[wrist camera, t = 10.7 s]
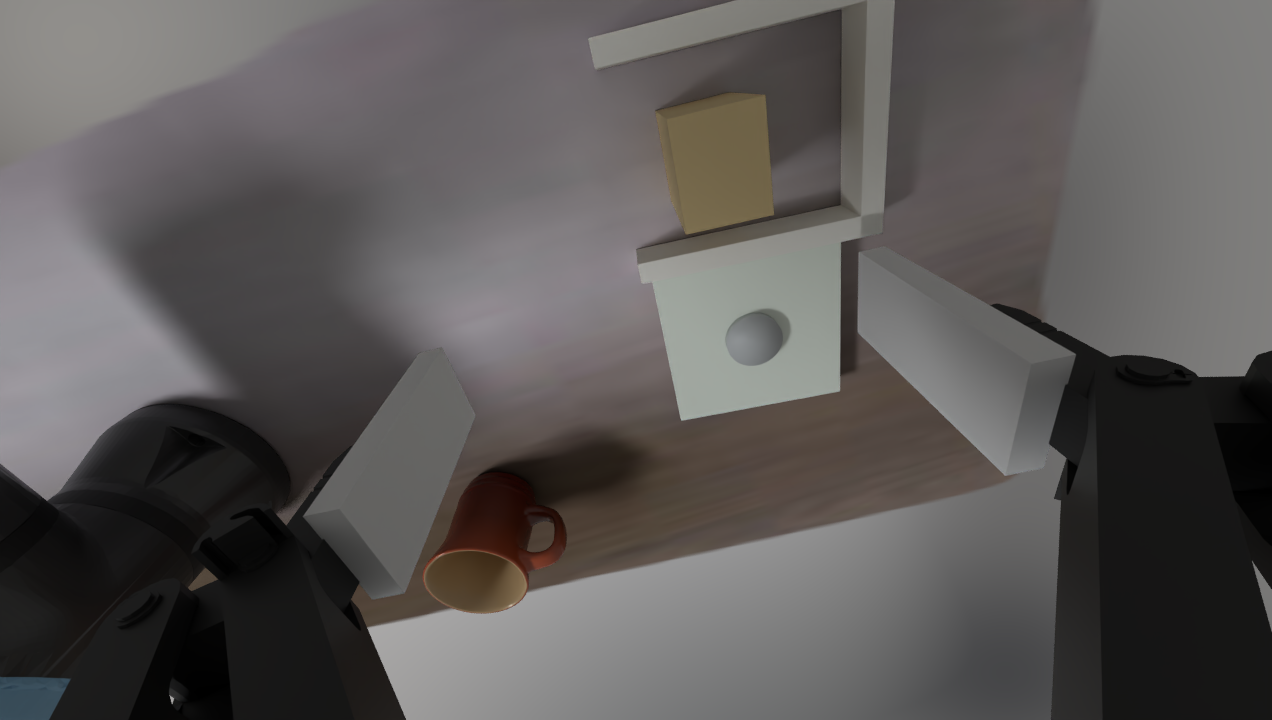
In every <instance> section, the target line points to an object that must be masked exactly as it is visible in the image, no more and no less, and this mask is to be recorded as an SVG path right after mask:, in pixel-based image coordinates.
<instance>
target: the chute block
mask: <svg viewBox="0 0 1272 720" xmlns="http://www.w3.org/2000/svg"><path fill="white" fill-rule="evenodd" d="M655 112H656V118H657V123H658V129H659V135H660V140H661V146H662V151H663V157H664V163H665V168H666V174H667V180H668V185H669V191H670V196H671V202H672V204H673V206H674V208H675V211H676V213H677V215H678V218H679V220H680V222H681V224H682V227H683V229H684V231H685V234H686V235H687V234H692V233H696V232H701V231H705V230H709V229H714V228H718V227H723V226H727V225H732V224H736V223H740V222H745V221H749V220H754V219H758V218H762V217H767V216H771V215H774V207H773V193H772V179H771V165H770V151H769V137H768V123H767V110H766V96H765V95H760V94H746V93H732V92H729V93H725V94H721V95H717V96H713V97H709V98H705V99H701V100H697V101H693V102H689V103H685V104H681V105H677V106H673V107H669V108H665V109H661V110H657V111H655Z"/></svg>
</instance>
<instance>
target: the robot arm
mask: <svg viewBox="0 0 1272 720" xmlns="http://www.w3.org/2000/svg"><path fill="white" fill-rule="evenodd" d="M858 333H859V334H860V335H861V336H862V337H863V338H864V339H865V340H866V341H867V342H868V343H869V344H870V345H871V346H872V347H873V348H874V349H875V350H876V351H877V352H878V353H879V354H881V355H882V356H883V357H884V358H885V359H886V360H887V361H888V362H889V363H890V364H891V365H892V366H893V367H894V368H895V369H896V370H897V371H898V372H899V373H900V374H901V375H902V376H903V377H904V378H905V379H906V380H907V381H908V382H909V383H910V384H911V385H912V386H913V387H915V388H916V389H917V390H918V391H919V392H920V393H921V394H922V395H923V396H924V397H925V398H926V399H927V400H928V401H929V402H930V403H931V404H932V405H933V406H934V407H935V408H936V409H937V410H938V411H939V412H940V413H941V414H942V415H943V416H944V417H945V418H946V419H947V420H949V421H950V422H951V423H952V424H953V425H954V426H955V427H956V428H957V429H958V430H959V431H960V432H961V433H962V434H963V435H964V436H965V437H966V438H967V439H968V440H969V441H970V442H971V443H972V444H973V445H974V446H975V447H976V448H977V449H978V450H979V451H980V452H981V453H983V454H984V455H985V456H986V457H987V458H988V459H989V460H990V461H991V462H992V463H993V464H994V465H995V466H996V467H997V468H998V469H999V470H1000V471H1001V472H1002V473H1003V474H1004V475H1005V476H1007V475H1012V474H1017V473H1022V472H1027V471H1032V470H1037V469H1042V468H1044V465H1045V462H1046V458H1047V455H1048V451H1049V447H1050V445H1051V446H1052V447H1054V448H1055V449H1056V450H1057V451H1058V452H1060V453H1061V454H1062V455H1064V456H1065V457H1066V458H1067V459H1066V462H1065V465H1064V468H1063V471H1062V475H1061V478H1060V481H1059V484H1058V487H1057V491H1056V494H1055V497H1054V499H1057V500H1061V514H1060V536H1059V557H1058V579H1057V601H1056V623H1055V644H1054V646H1055V647H1054V667H1053V688H1052V709H1051V720H1272V632H1271V628H1270V624H1269V621H1268V617H1267V614H1266V610H1265V606H1264V603H1263V599H1262V596H1261V592H1260V588H1259V585H1258V582H1257V578H1256V575H1255V571H1254V567H1253V563H1252V561H1253V562H1254V564H1255V565H1256V567H1257V568H1258V570H1259V571H1260V573H1261V574H1262V576H1263V577H1264V579H1265V580H1266V582H1267V583H1268V585H1269V586H1270V587H1271V589H1272V351H1269V352H1266V353H1262V354H1259V355H1257V356H1256V358H1255V359H1254V360H1253V362H1252V364H1251V366H1250V368H1249V370H1248V372H1247V373H1246V375H1245V376H1241V377H1240V376H1239V377H1198V376H1197V375H1196V374H1195V373H1194V372H1192V371H1191V370H1189V369H1187V368H1185V367H1184V366H1182V365H1179V364H1176V363H1173V362H1170V361H1167V360H1164V359H1159V358H1153V357H1147V356H1136V355H1135V356H1134V355H1121V356H1114V357H1109V356H1107V355H1105V354H1103V353H1102V352H1100V351H1098V350H1096V349H1094V348H1092V347H1090V346H1088V345H1087V344H1085V343H1083V342H1081V341H1079V340H1077V339H1075V338H1073V337H1072V336H1069V335H1068V334H1066V333H1064V332H1062V331H1057V329H1056V328H1055V327H1053V326H1051V325H1049V324H1047V323H1045V322H1044V323H1042V322H1041V320H1040V319H1038V318H1036V317H1034V316H1032V315H1030V314H1028V313H1027V312H1025V311H1023V310H1019V309H1016V308H1012V307H1008V306H1005V305H1001V304H993V305H988V304H986V303H985V302H983V301H981V300H979V299H977V298H976V297H974V296H972V295H970V294H969V293H967V292H965V291H963V290H962V289H960V288H958V287H956V286H954V285H953V284H951V283H949V282H947V281H946V280H944V279H942V278H940V277H939V276H937V275H935V274H933V273H931V272H930V271H928V270H926V269H924V268H923V267H921V266H919V265H917V264H916V263H914V262H912V261H910V260H908V259H907V258H905V257H903V256H901V255H900V254H898V253H896V252H894V251H893V250H891V249H889V248H887V247H885V246H882V247H878V248H874V249H869V250H865V251H861V252H859V269H858ZM475 417H476V415H475V413H474V411H473V409H472V407H471V405H470V403H469V401H468V399H467V397H466V395H465V393H464V391H463V389H462V387H461V385H460V383H459V381H458V379H457V377H456V375H455V373H454V371H453V368H452V366H451V364H450V362H449V360H448V358H447V356H446V354H445V352H444V350H443V348H438V349H434V350H429V351H425V352H421V353H419V354H418V355H417V357H416V358H415V360H414V361H413V362H412V364H411V365H410V367H409V368H408V369H407V371H406V372H405V374H404V375H403V376H402V378H401V379H400V381H399V382H398V383H397V385H396V386H395V388H394V389H393V390H392V392H391V393H390V395H389V396H388V397H387V399H386V400H385V402H384V403H383V405H382V406H381V407H380V409H379V410H378V412H377V413H376V414H375V416H374V417H373V419H372V420H371V421H370V423H369V424H368V426H367V427H366V428H365V430H364V431H363V433H362V434H361V435H360V437H359V438H358V440H357V441H356V442H355V444H354V445H353V446H350V447H349V448H348V449H347V450H346V451H345V452H344V453H342V454H341V455H340V456H339V457H338V458H337V459H336V460H334V461H333V463H332V464H331V465H330V467H329V468H328V470H327V471H326V472H325V474H324V475H323V479H320V480H319V482H318V483H317V485H316V486H315V487H314V491H313V492H311V493H310V494H309V495H308V497H307V498H306V500H305V501H304V502H303V504H302V505H301V506H300V508H299V509H298V510H297V512H296V513H295V515H294V516H293V517H292V519H291V520H290V521H289V523H288V524H287V525H285V524H284V523H283V522H282V521H281V519H280V518H279V517H278V516H277V515H276V513H277V512H278V511H279V510H280V508H281V507H282V506H283V505H284V503H285V502H286V500H287V498H288V495H289V490H290V482H289V476H288V473H287V471H286V468H285V466H284V464H283V462H282V461H281V459H280V458H279V457H278V455H277V454H276V453H275V451H274V450H273V449H272V448H271V447H270V446H269V445H268V444H267V443H266V442H265V441H263V440H262V439H261V438H260V437H259V436H257V435H256V434H255V433H253V432H252V431H250V430H249V429H247V428H246V427H244V426H242V425H240V424H239V423H237V422H235V421H233V420H231V419H229V418H226V417H224V416H222V415H219V414H216V413H213V412H211V411H207V410H204V409H200V408H195V407H190V406H183V405H154V406H149V407H145V408H142V409H139V410H137V411H134V412H133V413H131V414H129V415H128V416H126V417H125V418H123V419H122V420H120V421H119V422H117V423H116V424H114V425H113V426H111V427H110V428H109V429H107V430H106V431H105V432H104V433H103V434H102V435H101V436H100V437H99V439H98V440H97V441H96V443H95V444H94V445H93V447H92V448H91V449H90V451H89V452H88V453H87V455H86V456H85V458H84V459H83V460H82V462H81V463H80V464H79V466H78V467H77V469H76V470H75V471H74V473H73V474H72V475H71V477H70V478H69V479H68V481H67V482H66V484H65V485H64V486H63V488H62V489H61V490H60V491H59V492H58V493H57V494H56V495H55V496H53V497H52V498H51V499H49V500H48V501H46V500H45V499H44V498H42V497H41V496H40V495H39V494H38V493H36V492H35V491H34V490H33V489H31V488H30V487H29V486H28V485H26V484H25V483H24V482H23V481H21V480H20V479H19V478H17V477H16V476H15V475H14V474H12V473H11V472H10V471H9V470H7V469H6V468H5V467H4V466H2V465H1V464H0V720H406V718H405V716H404V714H403V711H402V709H401V707H400V704H399V702H398V699H397V697H396V695H395V692H394V690H393V688H392V686H391V683H390V681H389V679H388V676H387V674H386V671H385V669H384V667H383V664H382V662H381V660H380V657H379V655H378V652H377V650H376V648H375V645H374V643H373V641H372V639H371V636H370V634H369V631H368V629H367V627H366V624H365V622H364V620H363V617H362V615H361V612H360V610H359V608H358V607H357V606H356V605H355V604H354V603H353V602H352V600H351V598H352V596H353V594H354V592H355V590H356V588H357V586H358V584H360V585H361V586H362V588H363V589H364V590H365V591H366V592H367V594H368V595H369V596H370V597H371V598H372V600H373V599H378V598H383V597H388V596H393V595H398V594H403V593H405V591H406V588H407V586H408V584H409V581H410V579H411V576H412V574H413V571H414V569H415V566H416V564H417V561H418V559H419V556H420V554H421V551H422V549H423V546H424V544H425V541H426V539H427V536H428V534H429V531H430V529H431V526H432V524H433V521H434V519H435V516H436V514H437V511H438V509H439V506H440V504H441V501H442V499H443V496H444V494H445V491H446V489H447V486H448V484H449V481H450V479H451V476H452V474H453V471H454V469H455V466H456V464H457V461H458V459H459V456H460V454H461V451H462V449H463V446H464V444H465V441H466V439H467V436H468V434H469V432H470V429H471V427H472V424H473V422H474V419H475ZM205 567H206V568H207V569H208V570H209V571H210V572H211V573H212V574H213V575H214V576H215V577H217V578H218V580H216V581H214V582H212V583H209V584H207V585H205V586H202V587H200V588H198V589H196V590H193V591H190V590H189V589H188V587H189V586H190V584H191V583H192V582H193V581H194V580H195V579H196V577H197V576H198V575H199V574H200V573H201V572H202V570H203V569H204V568H205ZM169 695H170V696H172V697H173V698H174V701H173V704H172V703H171V699H170V696H169Z"/></svg>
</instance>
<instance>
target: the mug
mask: <svg viewBox="0 0 1272 720" xmlns="http://www.w3.org/2000/svg"><path fill="white" fill-rule="evenodd" d="M543 521H548V522H551V523H553V524H554V528H555V533H554V541H553V543H552V545H551V546H550V547H549V548H548V549H546V550H544V551H542V552H529V551H527V547H528V543H529V539H530V536H531V531H532V527H533V525H535V524H537V523H539V522H543ZM566 541H567V533H566V527H565V524H564V522H563V520H562V518H561V516H560V515H559V513H558V512H557V511H555V510H554V509H552V508H549V507H545V506H541V505H536V503H535V495H534V492H533V490H532V488H531V487H530V485H529V484H528V483H527V482H526V481H524V480H523V479H521V478H519V477H517V476H515V475H512V474H509V473H504V472H490V473H486V474H483V475H480V476H478V477H476V478H475V479H474V480H472V481H471V483H470V484H469V485H468V487H467V488H466V489H465V491H464V493H463V495H462V496H461V497H460V499H459V502H458V506H457V509H456V511H455V514H454V517H453V520H452V523H451V526H450V529H449V532H448V535H447V537H446V539H445V541H444V542H443V544H442V545H441V547H440V548H439V549H438V551H437V552H436V553H435V554H434V555H433V557H432V558H431V559H430V560H429V561H428V563H427V564H426V566H425V568H424V571H423V582H424V585H425V587H426V589H427V590H428V592H429V593H430V594H431V595H432V596H433V597H434V598H435V599H436V600H438V601H439V602H441V603H442V604H444V605H446V606H448V607H451V608H453V609H456V610H460V611H464V612H470V613H494V612H499V611H503V610H506V609H508V608H511V607H513V606H514V605H516V604H517V603H519V602H520V601H521V600H522V599H523V598H524V596H525V595H526V593H527V590H528V588H529V572H531V571H535V570H538V569H540V568H544V567H547V566H550V565H552V564H554V563H555V562H557V561H558V560H559V559H560V558H561V556H562V555H563V553H564V550H565V547H566Z"/></svg>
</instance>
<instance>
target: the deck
mask: <svg viewBox="0 0 1272 720" xmlns="http://www.w3.org/2000/svg"><path fill="white" fill-rule="evenodd" d="M894 6H895V0H735V1H731V2H727V3H724V4H720V5H716V6H712V7H708V8H704V9H700V10H696V11H692V12H689V13H685V14H681V15H677V16H673V17H669V18H665V19H661V20H657V21H654V22H650V23H646V24H642V25H638V26H634V27H630V28H626V29H622V30H619V31H615V32H611V33H607V34H603V35H599V36H595V37H591V38H588V41H589V45H590V50H591V54H592V59H593V63H594V68H595V69H596V70H601V69H605V68H609V67H613V66H617V65H621V64H625V63H629V62H633V61H637V60H641V59H645V58H649V57H653V56H657V55H661V54H665V53H669V52H673V51H677V50H681V49H685V48H689V47H693V46H697V45H701V44H705V43H709V42H713V41H717V40H721V39H725V38H729V37H733V36H737V35H741V34H745V33H749V32H753V31H757V30H761V29H765V28H769V27H773V26H777V25H781V24H785V23H789V22H793V21H797V20H801V19H805V18H809V17H812V16H816V15H820V14H824V13H828V12H832V11H836V10H840V9H842V56H841V205H838V206H834V207H829V208H825V209H820V210H816V211H811V212H806V213H802V214H797V215H793V216H788V217H783V218H779V219H774V220H770V221H765V222H760V223H756V224H751V225H747V226H742V227H737V228H733V229H728V230H724V231H719V232H714V233H710V234H705V235H701V236H696V237H691V238H687V239H682V240H678V241H673V242H669V243H664V244H659V245H655V246H650V247H646V248H641V249H636V252H637V263H638V269H639V273H640V278H641V282H642V284H645V283H650V282H653V287H654V292H655V297H656V301H657V306H658V311H659V316H660V321H661V326H662V330H663V335H664V340H665V345H666V350H667V355H668V359H669V364H670V369H671V374H672V379H673V384H674V388H675V393H676V398H677V403H678V408H679V413H680V417H681V421H682V420H688V419H693V418H699V417H704V416H709V415H715V414H720V413H726V412H731V411H736V410H742V409H747V408H752V407H758V406H763V405H769V404H774V403H779V402H785V401H790V400H795V399H801V398H806V397H812V396H817V395H822V394H828V393H833V392H839V391H840V307H841V242H844V241H848V240H853V239H858V238H863V237H867V236H872V235H877V234H881V233H883V218H884V199H885V180H886V160H887V141H888V122H889V102H890V83H891V64H892V45H893V25H894Z"/></svg>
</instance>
